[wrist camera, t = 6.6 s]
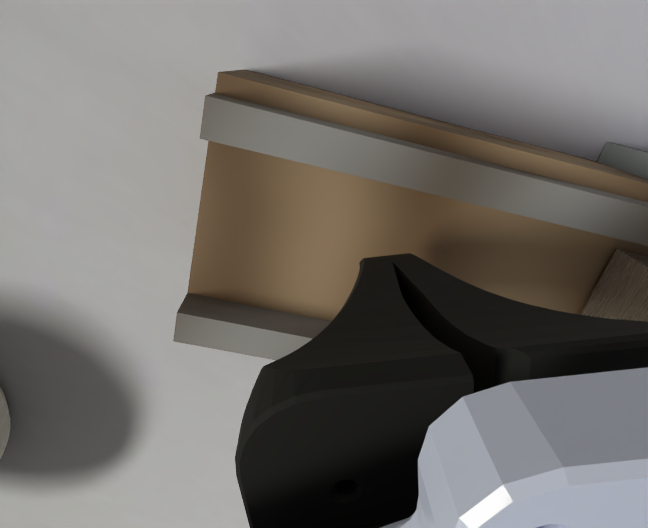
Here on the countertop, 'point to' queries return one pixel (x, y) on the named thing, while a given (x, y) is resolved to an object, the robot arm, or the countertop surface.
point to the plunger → (621, 289)
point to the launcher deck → (381, 212)
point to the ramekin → (4, 423)
